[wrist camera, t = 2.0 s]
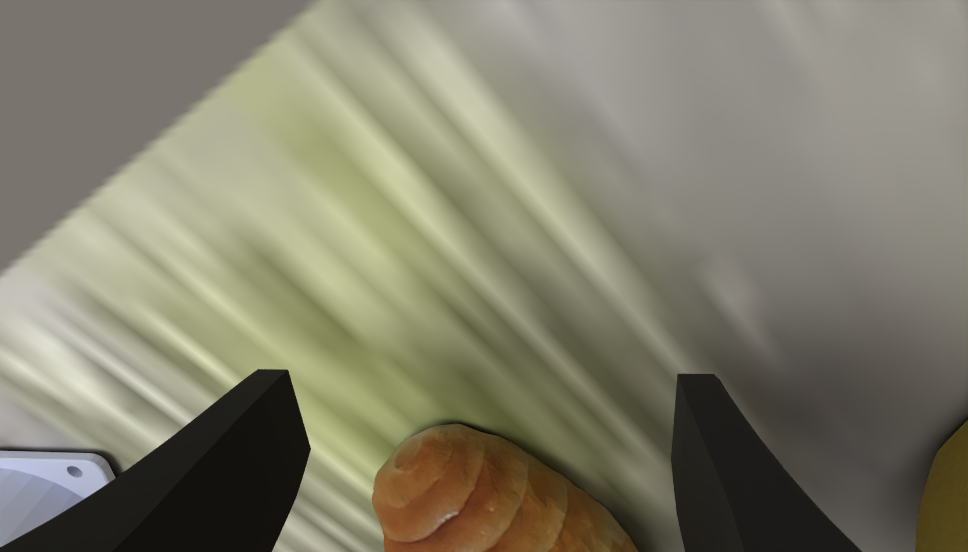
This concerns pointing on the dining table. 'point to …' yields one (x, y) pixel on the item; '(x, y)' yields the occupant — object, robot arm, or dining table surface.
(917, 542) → the flower pot
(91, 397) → the dining table surface
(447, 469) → the pastry
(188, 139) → the dining table surface
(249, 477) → the robot arm
